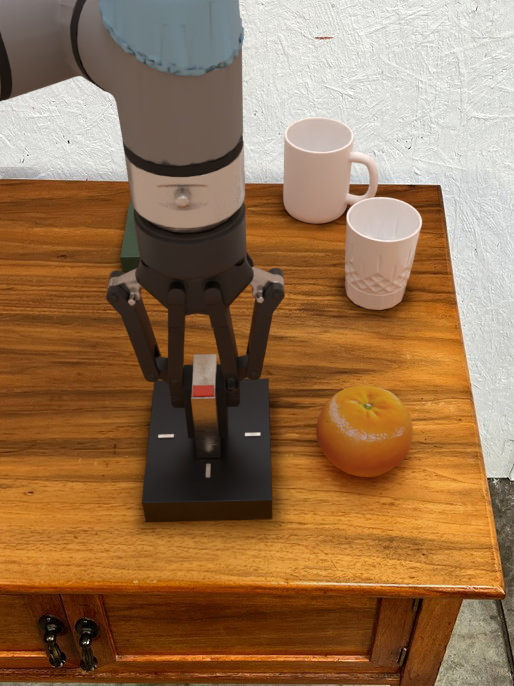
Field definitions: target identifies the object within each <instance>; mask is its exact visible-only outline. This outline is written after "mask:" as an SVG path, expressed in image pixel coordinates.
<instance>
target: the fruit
mask: <svg viewBox="0 0 514 686" xmlns="http://www.w3.org/2000/svg"><path fill="white" fill-rule="evenodd" d="M413 426H414V425H413V419H412V417H411V414H410V412H409V410H408V409H407V407H406V406H405V404H404V403H403V402H402V400H401V399H400V398H399V397H398V396H397V395H396V394H394V393H393V392H392V391H390V390H387V389H385V388H382V387H378V386H375V385H374V386H373V385H366V384H359V385H353V386H349V387H346V388H344V389H341V390H339V391H337V392H336V393H335V394H333V395H332V396H331V397H330V398H329V399H328V400H327V402H326V403H325V404H324V406H323V407H322V409H321V411H320V413H319V416H318V419H317V423H316V427H315V434H316V439H317V440H316V441H317V444H318V446H319V448H320V449H321V451H322V453H323V454H324V456H325V457H326V458H327V460H328V461H329V463H330V464H331V465H333V466H334V467H335V468H337V469H339V470H341V471H342V472H344V473H346V474H349V475H350V476H354V477H355V476H356V477H359V478H360V477H361V478H374V477H378V476H381V475H383V474H385V473H387V472H388V471H390V470H392V469H393V468H395V467H396V466H398V465H399V464H400V463H402V462H403V461H404V459H405V458H406V457H407V455H408V453H409V452H410V448H411V447H412V441H413V436H414V427H413Z"/></svg>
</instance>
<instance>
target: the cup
mask: <svg viewBox="0 0 514 686" xmlns="http://www.w3.org/2000/svg"><path fill="white" fill-rule="evenodd" d="M283 134H284V136H283V183H282V184H283V185H282V186H283V187H282V188H283V189H282V196H283V197H282V198H283V199H282V202H283V205H284V208H285V210H286V212H287V213H288V214H289V215H290V216H291V217H292V218H294V219H296V220H298V221H300V222H303V223H307V224H314V225H315V224H318V225H319V224H327V223H330V222H333V221H336V220H337V219H339V218H340V217H341V216H342V215H344V213H345V212H346V210H347V208H348V205H350V206H353V205H354V204H355V203H357V202H359V201H361V200H364V199H368V198H374V197H375V196H376V194H377V191H378V186H379V171H378V167H377V164H376V162H375V160H374V159H373V158H372V157H371V156H370V155H368V154H367V153H364V152H361V151H356V150H355V151H354V141H355V134H354V131H353V130H352V128H351V127H350V126H349V125H347V124H346V123H345V122H343V121H341V120H337V119H334V118H330V117H324V116H311V117H304V118H301V119H298V120H295V121H293V122H292V123H290V124H289V125H288V126H287V127H286V129H285V130H284V133H283ZM352 163H355V164H361V165H364V166H365V167H366V169H367V173H368V179H369V184H368V187H367V191H366V192H365V194H363V195H357V194H352V193H350V185H351V173H352Z"/></svg>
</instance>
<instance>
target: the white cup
mask: <svg viewBox="0 0 514 686" xmlns="http://www.w3.org/2000/svg"><path fill="white" fill-rule="evenodd" d="M345 221H346V222H345V245H344V246H345V248H344V273H345V278H344V279H345V280H344V281H345V282H344V288H345V293H346V296H347V297H348V299H350V301H351V302H352V303H354V304H355V305H357V306H360V307H361V308H363V309H366V310H374V311H383V310H387V309H392V308H394V307H395V306H396V305H398V304H399V303H401V302H402V300H403V298H404V295H405V293H406V289H407V285H408V281H409V279H410V276H411V271H412V267H413V264H414V260H415V256H416V251H417V247H418V243H419V238H420V235H421V230H422V225H423V218H422V216H421V214H420V212H419V211H418V210H417V209H416V208H415V207H414V206H412V205H411V204H409V203H407V202H406V201H403V200H401V199H397V198H393V197H386V196H384V197H383V196H376V197H375V196H374V198H368V199H364V200H361V201H359V202H357V203H355V204H354V205H351V206H350V207H349V209H347V212H346V220H345Z"/></svg>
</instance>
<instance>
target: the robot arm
mask: <svg viewBox="0 0 514 686" xmlns="http://www.w3.org/2000/svg"><path fill="white" fill-rule="evenodd" d="M244 38H245V27H243V18H242V17H241V9H240V0H0V102H3V101H7V100H10V99H13V98H16V97H20V96H23V95H26V94H29V93H31V92H35V91H38V90H41V89H43V88H47V87H49V86H53V85H56V84H58V83H62V82H65V81H68V80H71V79H73V78H77V77H82V78H83V79H84V80H86V81H88V82H90V83H91V84H93V85H94V86H96V87H97V88H99V89H100V90H102V91H103V92H105V93H109V95H112V97H113V99H114V101H115V105H116V110H117V116H118V117H117V118H118V122H119V126H120V127H119V128H120V132H121V139H122V147H123V153H124V160H125V167H126V174H127V181H128V187H129V195H130V197H131V201H132V204H133V206H134V214H133V215H134V221H135V228H136V235H137V241H138V248H139V255H140V257H139V259H138V261H137V264H136V267H137V268H136V269H134V270H132V271H130V272H123V270H119V269H115V270H112V271H111V272H110V273H109V275H108V276H109V277H108V283H107V288H106V294H105V299H106V301H107V303H108V304H110V305H111V307H112V308H113V309H114V310H115V311H116V312H117V313H118V315H120V317H121V320H122V322H123V324H124V327H125V331H126V333H127V335H128V339H129V340H130V344H131V346H132V348H133V352H134V354H135V356H136V359H137V362H138V364H139V367H140V369H141V372H142V375H143V378H144V380H145V381H147V382H150V383H154V382H156V381H158V380H164V381H166V382H167V383H168V385H169V390H170V397H171V404H172V406H173V407H174V408H185V416H186V424H187V432H188V438H195V432H194V423H193V413H192V404H191V387H192V370H193V364H184V363H185V338H186V337H185V335H186V316H191V315H195V314H198V315H205V316H208V317H209V322H210V326H211V328H212V330H213V335H214V340H215V345H216V349H217V355H218V358H219V363H218V364H217V372H216V395H217V409H218V422H219V436H220V438H228V407H238V406H239V404H240V381H241V380H242V379H250V380H257V379H261V377H262V374H263V373H262V372H263V367H264V362H265V357H266V351H267V348H268V347H267V346H268V342H269V341H268V340H269V337H270V331H271V325H272V321H273V315H274V312H275V311H276V310H277V309H278V307H279V305H280V304H281V303H282V301H283V300H284V299H285V295H286V294H285V276H284V271H283V270H282V269H281V268H278V267H273V268H270V269H269V270H268V271H266V270H263V269H261V268H259V267H256V266H254V260H253V258H252V257H251V256H250V254H249V252H248V250H247V215H246V214H247V213H246V204H245V197H246V177H245V176H246V173H245V172H246V171H245V170H246V169H245V141H244V135H243V134H244V100H243V98H244V97H243V96H244V95H243V92H244V91H243V90H244V88H243V44H244V40H245V39H244ZM249 286H250V287H251V296H252V298H254V303H253V309H252V316H251V322H250V328H249V334H248V338H247V346H246V352H245V354H243V355H240V356H239V352H238V346H237V340H236V335H235V331H234V325H233V320H232V315H231V309H230V307H231V305H232V304H233V303H234V302H235V301H236V300H237V299H238V297H240V296H241V294H242V293H243V292H244V291H245V290H246V288H248V287H249ZM143 289H144V291H146V292H147V293H148V294H149V295H150V296H151V297H153V298H154V299H155V300H156V301H157V302H158V303H160V304H161V305H162V306H163V307H164V308H165V309H167V357H165V356H162V354H161V350H160V348H159V344H158V341H157V339H156V335H155V333H154V330H153V326H152V324H151V320H150V318H149V315H148V312H147V309H146V306H145V303H144V301H143V297H142V291H143Z"/></svg>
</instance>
